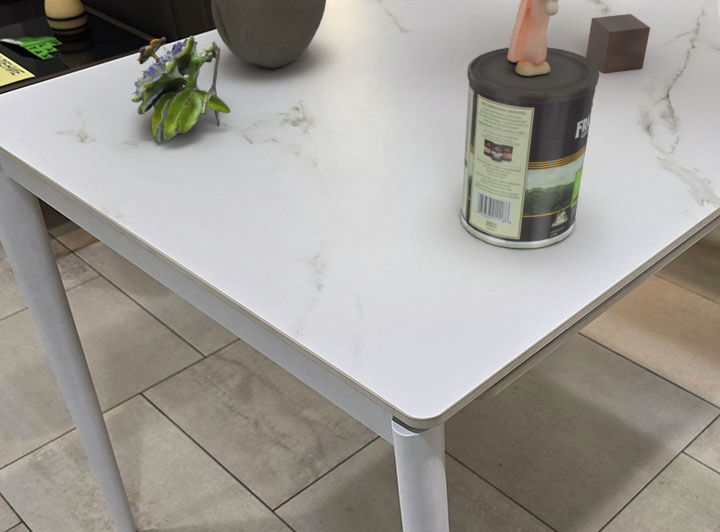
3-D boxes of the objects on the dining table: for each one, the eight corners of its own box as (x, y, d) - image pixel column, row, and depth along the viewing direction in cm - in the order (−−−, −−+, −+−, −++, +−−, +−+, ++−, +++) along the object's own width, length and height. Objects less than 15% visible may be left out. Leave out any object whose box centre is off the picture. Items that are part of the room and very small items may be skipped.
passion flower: (169, 157, 101) (167, 55, 101) (251, 150, 97) (250, 44, 97) (112, 142, 90) (110, 29, 90) (202, 134, 86) (200, 15, 86)
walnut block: (623, 53, 106) (630, 13, 103) (642, 68, 102) (650, 27, 99) (585, 58, 105) (591, 17, 102) (603, 73, 102) (610, 32, 99)
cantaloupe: (322, 84, 103) (316, -46, 94) (208, 83, 104) (191, -44, 95) (335, 41, 114) (330, -78, 105) (231, 41, 115) (218, -76, 106)
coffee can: (574, 193, 80) (597, 46, 71) (576, 254, 72) (601, 97, 63) (463, 185, 82) (473, 42, 73) (453, 244, 74) (462, 91, 65)
